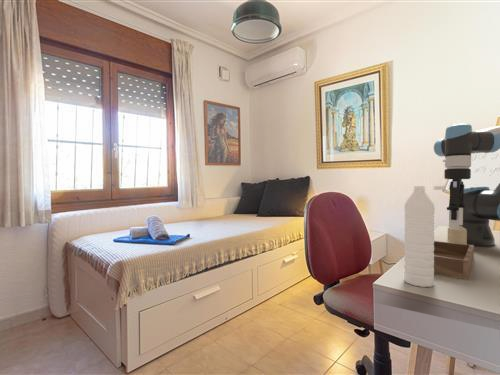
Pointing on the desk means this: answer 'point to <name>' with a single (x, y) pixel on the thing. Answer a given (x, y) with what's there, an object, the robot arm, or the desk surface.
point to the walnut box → (453, 259)
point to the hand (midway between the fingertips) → (456, 227)
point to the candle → (457, 235)
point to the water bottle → (419, 238)
